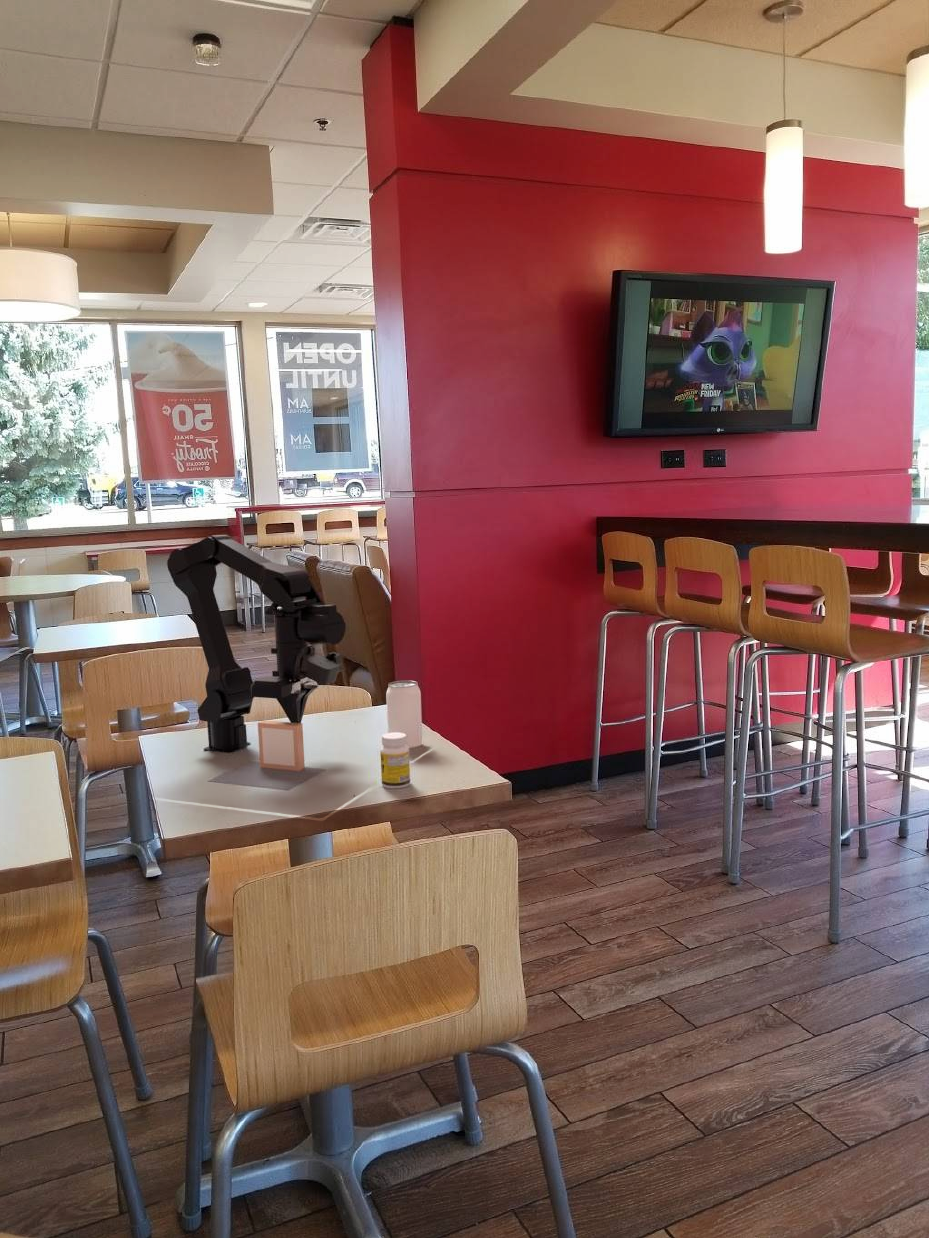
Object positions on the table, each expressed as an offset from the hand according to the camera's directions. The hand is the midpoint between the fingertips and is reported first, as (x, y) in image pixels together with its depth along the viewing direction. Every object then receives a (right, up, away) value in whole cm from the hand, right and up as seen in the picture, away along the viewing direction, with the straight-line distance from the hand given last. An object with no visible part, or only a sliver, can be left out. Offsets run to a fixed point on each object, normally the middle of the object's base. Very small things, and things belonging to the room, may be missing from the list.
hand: (296, 726), depth 169 cm
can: (+19, -5, +10) cm, 22 cm away
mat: (-3, -8, -8) cm, 12 cm away
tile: (-2, -7, -4) cm, 8 cm away
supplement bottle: (+19, -8, -14) cm, 25 cm away
